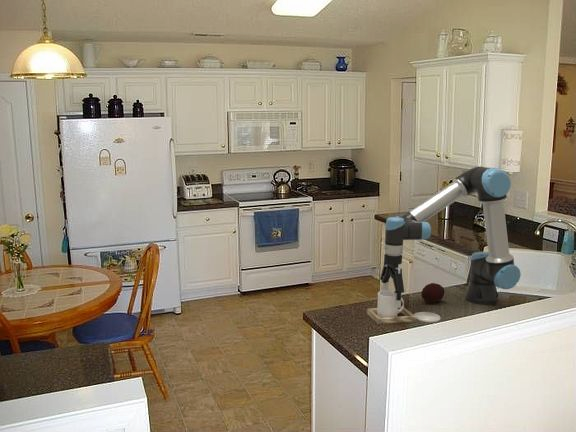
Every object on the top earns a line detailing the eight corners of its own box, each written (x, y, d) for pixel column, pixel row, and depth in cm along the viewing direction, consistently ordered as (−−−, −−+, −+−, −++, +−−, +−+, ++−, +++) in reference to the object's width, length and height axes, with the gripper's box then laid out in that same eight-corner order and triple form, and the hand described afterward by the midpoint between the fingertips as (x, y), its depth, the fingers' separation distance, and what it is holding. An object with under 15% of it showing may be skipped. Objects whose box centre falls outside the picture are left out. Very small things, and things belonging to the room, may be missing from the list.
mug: (408, 319, 234) (409, 295, 232) (382, 321, 230) (383, 297, 229) (398, 312, 242) (399, 289, 240) (373, 315, 239) (374, 291, 237)
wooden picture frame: (402, 310, 244) (402, 306, 244) (415, 321, 231) (416, 316, 231) (366, 313, 241) (366, 308, 240) (377, 323, 228) (378, 319, 227)
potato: (448, 303, 255) (449, 284, 253) (427, 306, 250) (428, 287, 248) (436, 298, 263) (437, 279, 261) (415, 301, 258) (416, 282, 256)
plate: (432, 312, 242) (432, 311, 242) (445, 321, 231) (445, 319, 231) (409, 314, 240) (409, 312, 239) (420, 323, 229) (421, 321, 229)
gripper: (374, 247, 243) (372, 293, 246) (396, 261, 219) (394, 312, 222) (390, 247, 244) (387, 293, 248) (414, 260, 220) (411, 311, 224)
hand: (390, 302), depth 235 cm, fingers open, 13 cm apart
